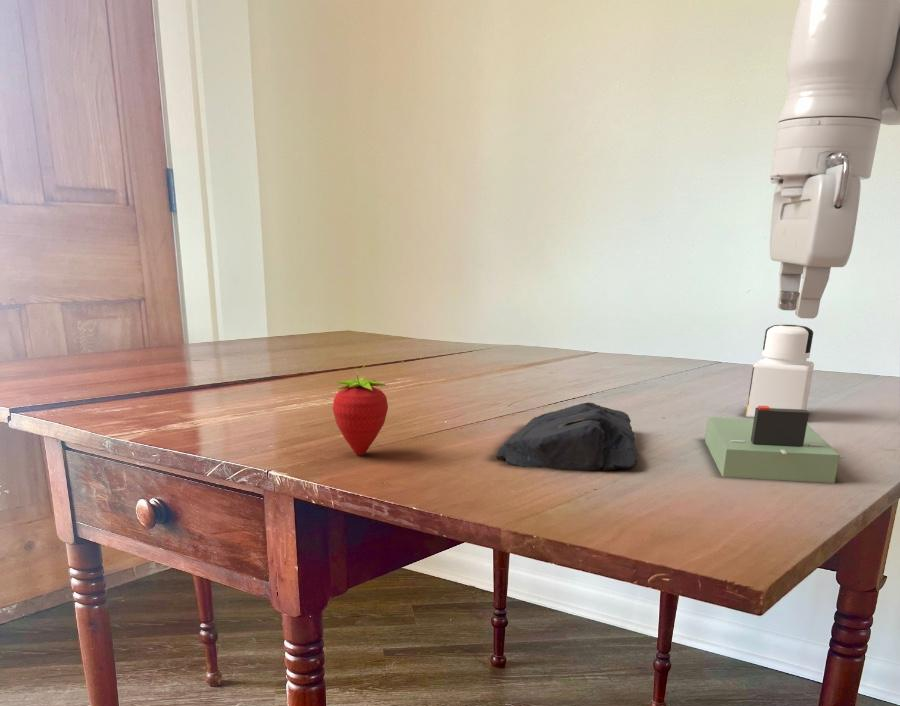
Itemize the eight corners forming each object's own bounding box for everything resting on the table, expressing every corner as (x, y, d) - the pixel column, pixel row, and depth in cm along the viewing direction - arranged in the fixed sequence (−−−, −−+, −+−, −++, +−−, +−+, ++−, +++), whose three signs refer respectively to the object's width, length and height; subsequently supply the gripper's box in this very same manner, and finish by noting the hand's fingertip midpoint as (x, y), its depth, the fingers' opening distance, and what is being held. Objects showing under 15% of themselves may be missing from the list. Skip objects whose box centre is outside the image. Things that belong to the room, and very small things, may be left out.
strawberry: (393, 449, 99) (392, 358, 95) (382, 465, 92) (380, 368, 88) (342, 447, 99) (339, 357, 95) (327, 463, 92) (323, 367, 88)
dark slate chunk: (645, 432, 108) (649, 394, 107) (635, 476, 89) (639, 430, 87) (525, 425, 112) (526, 387, 110) (489, 465, 92) (491, 421, 90)
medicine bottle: (752, 409, 125) (766, 321, 120) (805, 414, 122) (821, 324, 117) (745, 417, 119) (758, 326, 114) (800, 422, 116) (816, 329, 111)
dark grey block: (800, 443, 91) (806, 407, 89) (803, 446, 89) (809, 410, 88) (750, 440, 91) (755, 405, 90) (752, 444, 90) (758, 407, 88)
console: (800, 446, 103) (804, 419, 102) (837, 486, 86) (843, 455, 85) (704, 441, 105) (708, 415, 103) (723, 480, 88) (728, 449, 87)
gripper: (891, 148, 71) (856, 324, 76) (832, 166, 89) (807, 307, 95) (810, 147, 72) (781, 321, 77) (769, 165, 90) (748, 305, 96)
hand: (795, 313), depth 86 cm, fingers open, 8 cm apart
